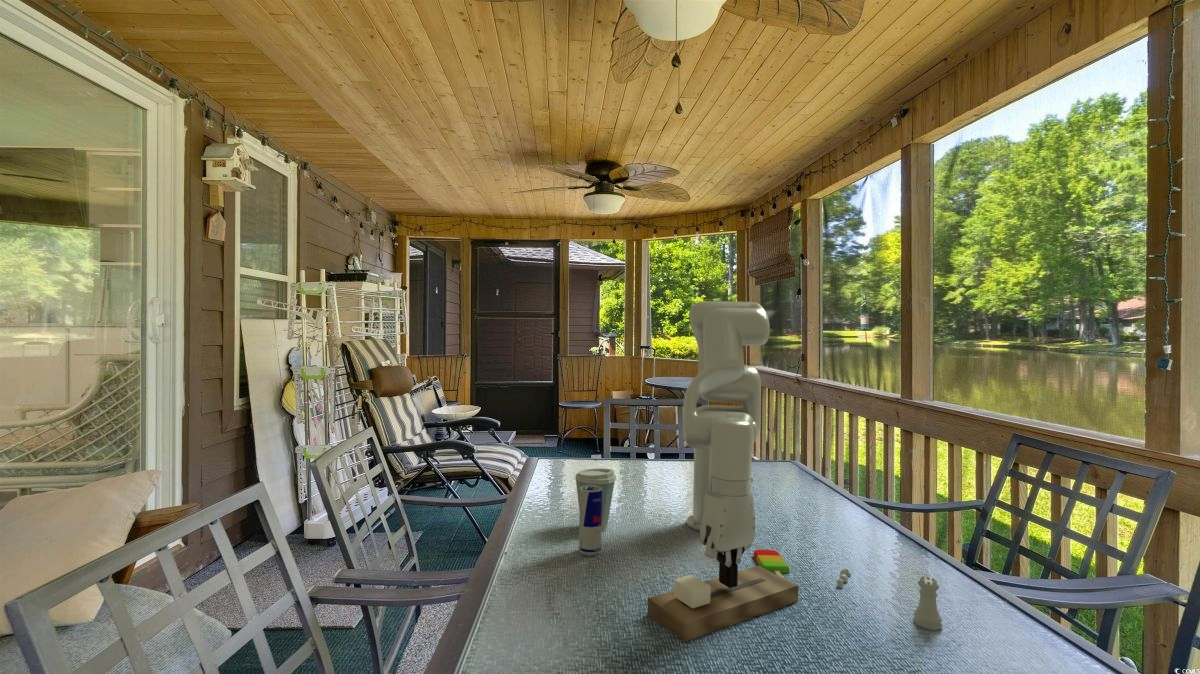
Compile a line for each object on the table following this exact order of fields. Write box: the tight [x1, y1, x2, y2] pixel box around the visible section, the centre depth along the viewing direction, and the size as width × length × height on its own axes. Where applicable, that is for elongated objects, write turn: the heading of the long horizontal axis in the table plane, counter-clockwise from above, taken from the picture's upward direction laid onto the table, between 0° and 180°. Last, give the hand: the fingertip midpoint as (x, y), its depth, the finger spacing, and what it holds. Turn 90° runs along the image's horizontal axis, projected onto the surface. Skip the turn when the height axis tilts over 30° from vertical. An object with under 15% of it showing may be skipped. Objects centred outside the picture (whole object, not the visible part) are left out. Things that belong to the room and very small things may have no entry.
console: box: [647, 565, 799, 643], centre depth 101 cm, size 28×10×3 cm, turn 121°
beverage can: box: [578, 485, 602, 557], centre depth 125 cm, size 5×5×15 cm
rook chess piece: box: [912, 575, 943, 632], centre depth 96 cm, size 4×4×8 cm
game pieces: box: [836, 568, 852, 589], centre depth 113 cm, size 8×2×2 cm, turn 145°
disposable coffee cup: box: [574, 467, 617, 533], centre depth 141 cm, size 11×11×15 cm
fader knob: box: [673, 574, 710, 608], centre depth 97 cm, size 4×5×3 cm
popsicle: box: [753, 549, 790, 579], centre depth 118 cm, size 6×15×2 cm, turn 178°
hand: (728, 584), depth 102 cm, fingers closed
